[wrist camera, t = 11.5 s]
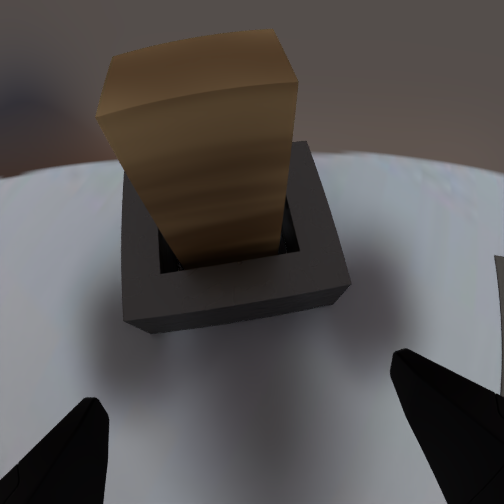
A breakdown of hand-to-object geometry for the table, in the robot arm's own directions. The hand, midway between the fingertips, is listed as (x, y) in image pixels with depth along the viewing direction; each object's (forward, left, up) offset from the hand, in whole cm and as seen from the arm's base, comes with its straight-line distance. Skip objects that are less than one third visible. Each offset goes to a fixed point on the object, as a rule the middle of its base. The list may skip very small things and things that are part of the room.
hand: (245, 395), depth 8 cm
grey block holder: (+7, +4, -8) cm, 12 cm away
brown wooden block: (+7, +4, -8) cm, 12 cm away
